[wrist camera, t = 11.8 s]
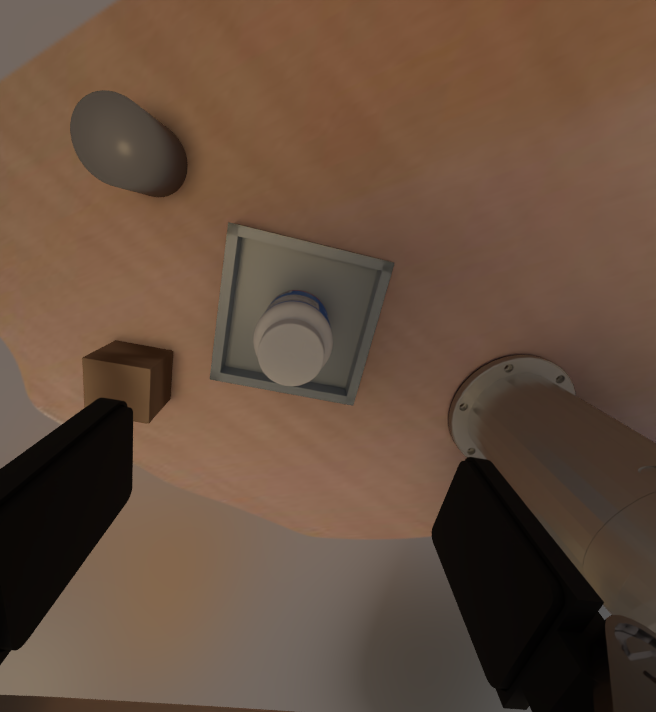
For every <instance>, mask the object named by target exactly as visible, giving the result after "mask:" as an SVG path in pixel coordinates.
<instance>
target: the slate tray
mask: <svg viewBox="0 0 656 712" xmlns="http://www.w3.org/2000/svg"><path fill="white" fill-rule="evenodd" d="M393 266H394V263H393V262H389V261H385V260H381V259H377V258H373V257H369V256H365V255H361V254H357V253H353V252H349V251H345V250H340V249H336V248H332V247H328V246H324V245H320V244H316V243H312V242H308V241H304V240H300V239H296V238H292V237H287V236H283V235H279V234H275V233H271V232H267V231H263V230H259V229H255V228H251V227H247V226H243V225H238V224H234V223H229V222H228V229H227V237H226V246H225V254H224V263H223V271H222V280H221V288H220V297H219V305H218V314H217V322H216V331H215V339H214V347H213V356H212V364H211V373H210V379H211V380H216V381H222V382H227V383H233V384H238V385H243V386H249V387H254V388H260V389H265V390H271V391H276V392H282V393H287V394H293V395H298V396H304V397H309V398H314V399H320V400H325V401H331V402H336V403H342V404H347V405H353V404H354V401H355V397H356V394H357V391H358V387H359V384H360V380H361V377H362V373H363V370H364V366H365V363H366V359H367V356H368V353H369V349H370V346H371V342H372V339H373V335H374V332H375V328H376V325H377V322H378V318H379V315H380V311H381V308H382V304H383V301H384V297H385V294H386V291H387V287H388V284H389V280H390V277H391V273H392V270H393ZM291 290H301V291H305V292H308V293H310V294H312V295H314V296H315V297H317V298H318V299H319V300H320V301H321V302H322V304H323V305H324V307H325V309H326V311H327V314H328V319H329V323H330V327H331V332H332V338H333V346H332V351H331V355H330V357H329V359H328V361H327V362H326V364H325V365H324V366H323V367H322V368H321V370H320V372H319V373H318V374H317V376H316V377H315V378H313V379H312V380H311V381H309V382H307V383H305V384H302V385H299V386H284V385H281V384H278V383H276V382H274V381H272V380H271V379H269V378H268V377H267V376H266V375H265V374H264V372H263V371H262V369H261V367H260V365H259V362H258V358H257V356H256V353H255V350H254V344H253V337H254V331H255V328H256V325H257V323H258V322H259V320H260V318H261V317H262V315H263V314H264V313H265V311H266V310H267V308H268V307H269V305H270V304H271V302H272V301H273V300H274V299H275V298H276V297H277V296H279V295H280V294H282V293H284V292H287V291H291Z"/></svg>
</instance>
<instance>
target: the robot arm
mask: <svg viewBox="0 0 656 712" xmlns="http://www.w3.org/2000/svg"><path fill="white" fill-rule="evenodd" d="M449 429H450V434H451V436H452V438H453V441H454V443H455V444H456V445H457V447H458V448H459V450H460V451H461V452H462V453H463V454H464V455H465V456H466V457H467V459H466V460H465V461H462V462H460V464H459V466H458V468H457V471H456V473H455V475H454V478H453V480H452V483H451V485H450V487H449V490H448V492H447V494H446V497H445V499H444V502H443V504H442V506H441V509H440V511H439V513H438V516H437V518H436V521H435V523H434V525H433V528H432V540H433V543H434V546H435V548H436V550H437V554H438V556H439V559H440V561H441V563H442V566H443V569H444V571H445V574H446V576H447V579H448V581H449V584H450V587H451V589H452V591H453V594H454V597H455V599H456V602H457V604H458V607H459V610H460V612H461V615H462V617H463V620H464V622H465V625H466V627H467V630H468V632H469V635H470V637H471V640H472V643H473V645H474V647H475V650H476V653H477V655H478V658H479V660H480V663H481V665H482V668H483V670H484V673H485V676H486V678H487V680H488V682H489V683H490V685H491V686H492V687H494V688H496V691H497V693H498V696H499V698H500V701H501V703H502V706H503V708H510V709H523V710H526V709H527V708H528V707H529V706H530V708H531V710H532V712H656V443H654V442H653V441H651V440H649V439H648V438H646V437H644V436H643V435H641V434H639V433H638V432H636V431H634V430H632V429H631V428H629V427H627V426H626V425H624V424H622V423H621V422H619V421H617V420H616V419H614V418H612V417H610V416H609V415H607V414H605V413H604V412H602V411H600V410H599V409H597V408H595V407H594V406H592V405H590V404H589V403H587V402H585V401H583V400H582V399H580V398H578V397H577V396H576V393H575V389H574V385H573V383H572V381H571V379H570V377H569V376H568V374H567V373H566V372H565V371H564V370H563V369H562V368H560V367H559V366H557V365H556V364H554V363H552V362H550V361H548V360H546V359H544V358H541V357H537V356H533V355H513V356H507V357H503V358H501V359H498V360H495V361H492V362H490V363H489V364H487V365H485V366H483V367H481V368H480V369H479V370H477V371H476V372H475V373H473V374H472V375H471V376H470V377H469V378H468V379H467V380H466V381H465V382H464V383H463V384H462V386H461V387H460V389H459V390H458V392H457V393H456V395H455V397H454V399H453V401H452V404H451V407H450V412H449ZM132 467H133V410H132V408H130V407H127V403H126V402H125V401H121V400H115V399H109V398H98V399H96V400H95V401H94V402H92V403H91V404H90V405H88V406H87V407H85V408H84V409H83V410H81V411H80V412H79V413H77V414H76V415H74V416H73V417H72V418H70V419H69V420H67V421H66V422H65V423H63V424H62V425H61V426H59V427H58V428H57V429H55V430H54V431H52V432H51V433H50V434H48V435H47V436H45V437H44V438H43V439H41V440H40V441H38V442H37V443H36V444H34V445H33V446H32V447H30V448H29V449H27V450H26V451H25V452H23V453H22V454H21V455H19V456H18V457H17V458H15V459H14V460H12V461H11V462H10V463H8V464H7V465H5V466H4V467H3V468H1V469H0V665H1V663H2V662H3V661H4V659H5V658H6V657H7V655H8V654H9V652H10V651H11V650H18V649H19V648H21V647H22V646H23V645H24V643H25V642H26V641H27V640H28V638H29V637H30V636H31V634H32V633H33V632H34V630H35V629H36V628H37V626H38V625H39V623H40V622H41V621H42V619H43V618H44V616H45V615H46V614H47V612H48V611H49V609H50V608H51V607H52V605H53V604H54V603H55V601H56V600H57V598H58V597H59V596H60V594H61V593H62V591H63V590H64V589H65V587H66V586H67V585H68V583H69V582H70V580H71V579H72V578H73V576H74V575H75V573H76V572H77V571H78V569H79V568H80V566H81V565H82V564H83V562H84V561H85V559H86V558H87V556H88V555H89V554H90V553H91V551H92V550H93V548H94V547H95V546H96V544H97V543H98V541H99V540H100V539H101V537H102V536H103V535H104V533H105V532H106V530H107V529H108V528H109V526H110V525H111V523H112V522H113V521H114V519H115V518H116V516H117V515H118V513H119V512H120V511H121V509H122V508H123V507H124V505H125V504H126V503H127V501H128V499H129V497H130V494H131V491H132ZM602 605H604V607H605V608H606V609H607V610H608V611H609V612H610V613H611V616H609V617H608V618H607V619H606V620H604V619H603V618H602V616H601V615H600V614H599V612H598V611H599V609H600V608H601V606H602ZM0 712H292V711H277V710H261V709H246V708H231V707H230V708H229V707H214V706H198V705H197V706H196V705H181V704H165V703H148V702H130V701H114V700H96V699H79V698H63V697H42V696H15V695H0Z"/></svg>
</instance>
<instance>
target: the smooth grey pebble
mask: <svg viewBox="0 0 656 712" xmlns="http://www.w3.org/2000/svg"><path fill="white" fill-rule="evenodd" d="M70 132H71V139H72V143H73V146H74V149H75V151H76V154H77V156H78V157H79V159H80V161H81V162H82V164H83V165H84V166H85V167H86V169H87V170H88V171H89V172H90V173H91V174H92V175H94V176H95V177H96V178H98V179H99V180H101V181H102V182H104V183H106V184H109V185H112V186H115V187H119V188H122V189H126V190H130V191H134V192H138V193H141V194H145V195H149V196H153V197H165V196H169V195H171V194H173V193H175V192H176V191H177V190H178V189H179V188H180V187H181V186H182V184H183V182H184V180H185V178H186V174H187V158H186V154H185V151H184V148H183V146H182V144H181V142H180V141H179V139H178V138H177V137H176V135H175V134H174V133H173V132H172V131H171V130H169V129H168V128H167V127H166V126H164V125H163V124H162V123H160V122H159V121H158V120H157V119H155V118H154V117H153V116H151V115H150V114H149V113H147V112H146V111H145V110H144V109H142V108H141V107H140V106H138V105H137V104H136V103H134V102H133V101H132V100H130V99H129V98H127V97H126V96H124V95H122V94H119V93H116V92H112V91H96V92H92V93H90V94H88V95H86V96H85V97H83V98H82V99H81V100H80V101H79V102H78V104H77V105H76V107H75V109H74V111H73V114H72V117H71V123H70Z"/></svg>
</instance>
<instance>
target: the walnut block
mask: <svg viewBox="0 0 656 712" xmlns="http://www.w3.org/2000/svg"><path fill="white" fill-rule="evenodd" d="M82 362H83V385H84V407H87V406H88V405H90V404H91V403H92V402H94V401H95V400H96V399H98V398H109V399H115V400H121V401H125V402H126V403H127V407H130V408H132V410H133V421H135V422H141V423H148V424H149V423H150V422H151V420H152V419H153V418H154V417H155V416H156V415H157V414H158V412H159V411H160V410H161V409H162V408H163V407H164V406H165V404H166V403H167V402H168V401H169V400H170V397H171V380H172V363H173V351H172V350H166V349H160V348H155V347H149V346H144V345H138V344H133V343H127V342H121V341H116V340H115V341H113V342H111V343H110V344H108V345H106V346H104V347H102V348H100V349H98V350H96V351H94V352H92V353H90V354H89V355H87V356H85V357H83V358H82Z"/></svg>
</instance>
